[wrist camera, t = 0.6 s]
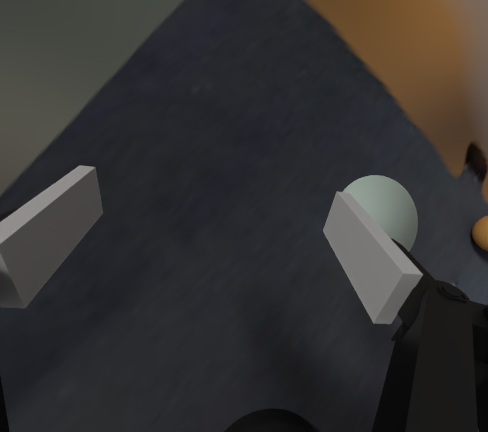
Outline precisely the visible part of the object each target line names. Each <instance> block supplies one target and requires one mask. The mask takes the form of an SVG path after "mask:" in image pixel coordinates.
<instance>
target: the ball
mask: <svg viewBox="0 0 488 432" xmlns="http://www.w3.org/2000/svg"><path fill="white" fill-rule="evenodd" d="M472 237H473V240H474V241H475V243H476V244H477V245H478V246H479V247H481V248H482V249H484V250H486V251H488V215H487V216H484V217H482V218H481V219H479V220H478V221H477V222H476V223H475V224H474V226H473V228H472Z"/></svg>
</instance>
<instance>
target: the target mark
mask: <svg viewBox="0 0 488 432" xmlns="http://www.w3.org/2000/svg"><path fill="white" fill-rule="evenodd" d="M343 192H345V193H350V194H351V195H352V196H353V198H354V199H355V200H356V201H357V202H358V203H359V204H360V205H361V206H362V208H363V209H364V210H365V211H366V212H367V213H368V214H369V215H370V216H371V217H372V219H373V220H374V221H375V222H376V223H377V224H378V225H379V226H380V227H381V229H382V230H383V231H384V232H385V233H386V234H387V235H388V236H389V237H390V238H392V239H394V240H396V241H397V242H398V243H400V244H401V245H403V246H404V247H405V248H406V249H407V251H408V252H409V251H410V250H411V248H412V246H413V244H414V242H415V239H416V235H417V229H418V218H417V212H416V208H415V205H414V202H413V200H412V198H411V196H410V195H409V193H408V192H407V191H406V190H405V188H404V187H403V186H401V185H400V184H399V183H398V182H396V181H394V180H393V179H391V178H388V177H385V176H379V175H372V176H366V177H362V178H360V179H357V180H356V181H354V182H352V183H351V184H350V185H348V186H347V187H346V188H345V189H344V191H343Z"/></svg>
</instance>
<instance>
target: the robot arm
mask: <svg viewBox="0 0 488 432" xmlns="http://www.w3.org/2000/svg"><path fill="white" fill-rule="evenodd" d="M102 214H103V209H102V204H101V198H100V192H99V186H98V180H97V174H96V168H95V167H89V166H78V167H77V168H76V169H74V170H73V171H71V172H70V173H69V174H67V175H66V176H64V177H63V178H61V179H60V180H59V181H57V182H56V183H54V184H53V185H52V186H50V187H49V188H47V189H46V190H45V191H43V192H42V193H40V194H39V195H38V196H36V197H35V198H33V199H32V200H31V201H29V202H28V203H26V204H25V205H24V206H22V207H21V208H19V209H18V208H16V209H13V210H11V211H8V212H6V213H3V214H1V215H0V306H1V307H6V308H26V306H27V305H28V304H29V303H30V302H31V300H32V299H33V298H34V297H35V295H36V294H37V293H38V292H39V291H40V289H41V288H42V287H43V286H44V284H45V283H46V282H47V281H48V280H49V278H50V277H51V276H52V275H53V273H54V272H55V271H56V270H57V269H58V267H59V266H60V265H61V264H62V262H63V261H64V260H65V259H66V258H67V256H68V255H69V254H70V253H71V251H72V250H73V249H74V248H75V247H76V245H77V244H78V243H79V242H80V240H81V239H82V238H83V237H84V236H85V234H86V233H87V232H88V231H89V230H90V228H91V227H92V226H93V225H94V223H95V222H96V221H97V220H98V219H99V217H100V216H101V215H102ZM323 232H324V234H325V236H326V238H327V239H328V241H329V243H330V245H331V247H332V249H333V250H334V252H335V254H336V256H337V258H338V260H339V261H340V263H341V265H342V267H343V269H344V270H345V272H346V274H347V276H348V278H349V280H350V281H351V283H352V285H353V287H354V289H355V291H356V292H357V294H358V296H359V298H360V300H361V302H362V303H363V305H364V307H365V309H366V311H367V312H368V314H369V316H370V318H371V320H372V322H373V323H376V324H391V323H392V322H393V320H394V319H395V317H396V316H397V314H398V315H399V317H400V318H401V320H402V321H403V323H402V324H401V326H400V327H399V329H398V330H397V332H396V333H395V334H394V336H393V337H392V339H391V340H392V341H395V339H396V341H395V345H394V349H393V352H392V356H391V360H390V364H389V368H388V372H387V375H386V379H385V383H384V387H383V391H382V395H381V399H380V402H379V406H378V410H377V414H376V418H375V422H374V425H373V429H372V432H478V430H479V432H488V305H483V304H480V303H476V302H473V301H470V300H469V298H468V297H467V296H466V294H465V293H463V292H462V291H461V290H460V289H458V288H457V287H455V286H453V285H451V284H449V283H446V282H443V281H438V280H435V279H434V278H433V277H432V276H431V275H430V274H429V273H428V272H427V271H426V270H425V269H424V268H423V267H422V266H421V264H420V263H419V262H418V261H416V260H415V258H414V257H413V256H412V255H411V254H410V253H409V252H408V251H407V249H406V248H405V247H404V246H403V245H401V244H400V243H398V242H397V241H396V240H394V239H392V238H390V237H389V236H388V235H387V234H386V233H385V232H384V231H383V230H382V229H381V227H380V226H379V225H378V224H377V223H376V222H375V221H374V220H373V219H372V217H371V216H370V215H369V214H368V213H367V212H366V211H365V210H364V209H363V208H362V206H361V205H360V204H359V203H358V202H357V201H356V200H355V199H354V198H353V196H352V195H351V194H350V193H345V192H336V195H335V198H334V201H333V204H332V207H331V209H330V212H329V215H328V218H327V221H326V224H325V227H324V230H323ZM0 432H9V426H8V420H7V414H6V408H5V401H4V395H3V389H2V383H1V377H0ZM225 432H314V431H313V429H312V428H311V427H310V426H309V424H308V423H307V422H306V421H305V420H303V419H302V418H301V417H299V416H297V415H296V414H294V413H291V412H288V411H285V410H280V409H266V410H260V411H256V412H253V413H251V414H248V415H246V416H244V417H242V418H241V419H239V420H238V421H236V422H235V423H233V424H232V425H231V426H230V427H229V428H228V429H227V430H226V431H225Z"/></svg>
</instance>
